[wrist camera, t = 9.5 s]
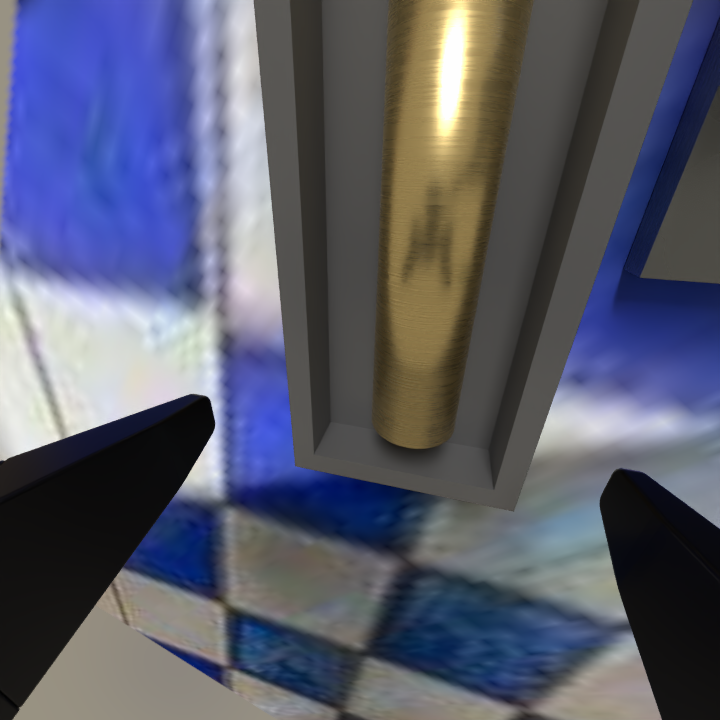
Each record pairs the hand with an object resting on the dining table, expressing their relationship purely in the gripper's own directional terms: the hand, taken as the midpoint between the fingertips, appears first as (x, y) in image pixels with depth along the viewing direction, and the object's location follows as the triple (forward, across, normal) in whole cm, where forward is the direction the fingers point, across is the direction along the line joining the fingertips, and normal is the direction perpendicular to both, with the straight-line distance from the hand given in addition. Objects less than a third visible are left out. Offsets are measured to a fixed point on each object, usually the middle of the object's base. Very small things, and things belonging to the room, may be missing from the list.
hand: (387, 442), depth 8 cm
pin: (+4, 0, -4) cm, 6 cm away
